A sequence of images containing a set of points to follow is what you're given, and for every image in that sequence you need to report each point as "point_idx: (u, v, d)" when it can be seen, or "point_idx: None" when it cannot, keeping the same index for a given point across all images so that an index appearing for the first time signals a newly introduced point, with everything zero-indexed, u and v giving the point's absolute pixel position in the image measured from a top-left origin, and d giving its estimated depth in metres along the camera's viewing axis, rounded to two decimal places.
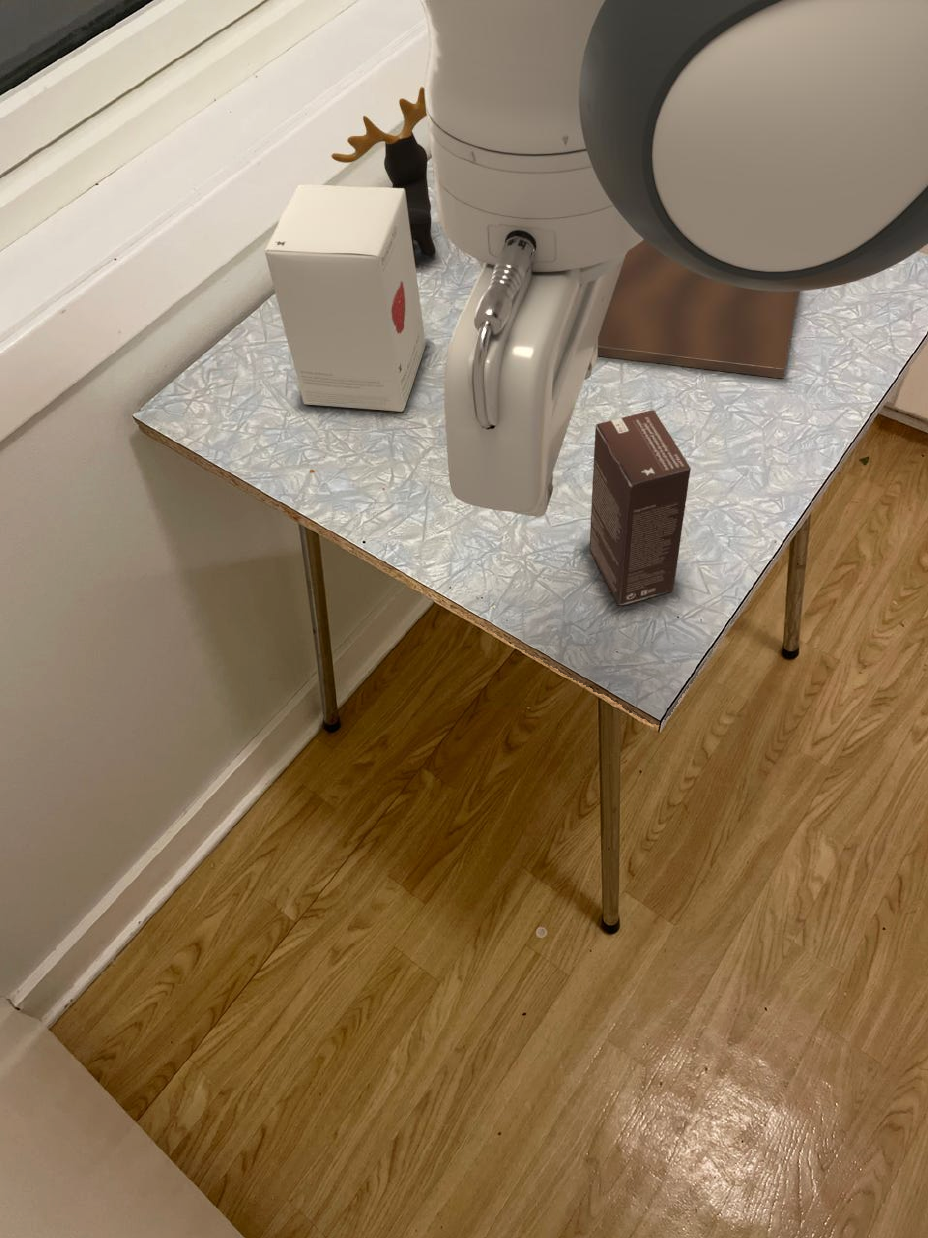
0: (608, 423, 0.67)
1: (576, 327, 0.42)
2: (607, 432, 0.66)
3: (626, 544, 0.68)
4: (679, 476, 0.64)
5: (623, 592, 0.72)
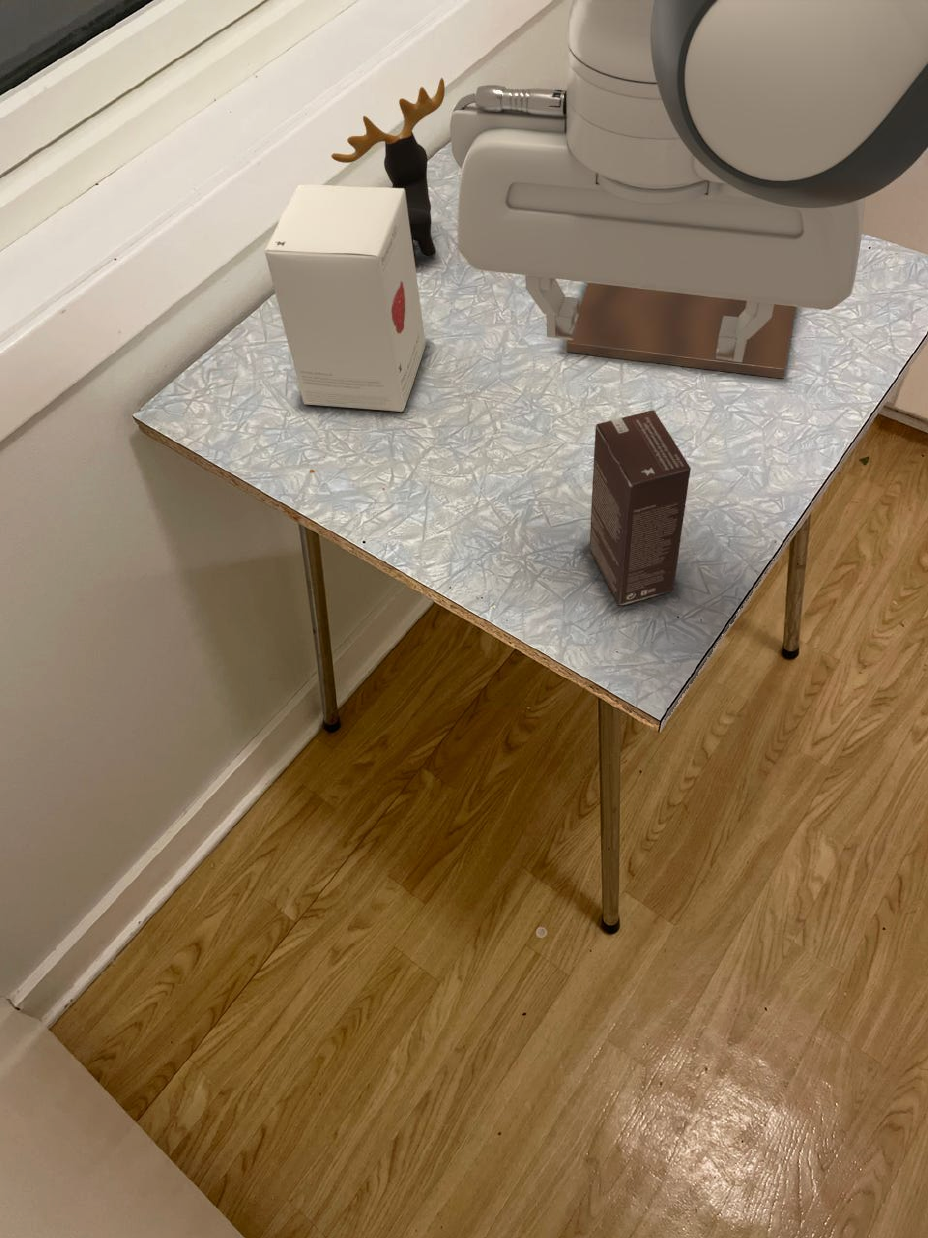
0: (608, 423, 0.67)
1: (594, 217, 0.52)
2: (607, 432, 0.66)
3: (626, 544, 0.68)
4: (679, 476, 0.64)
5: (623, 592, 0.72)
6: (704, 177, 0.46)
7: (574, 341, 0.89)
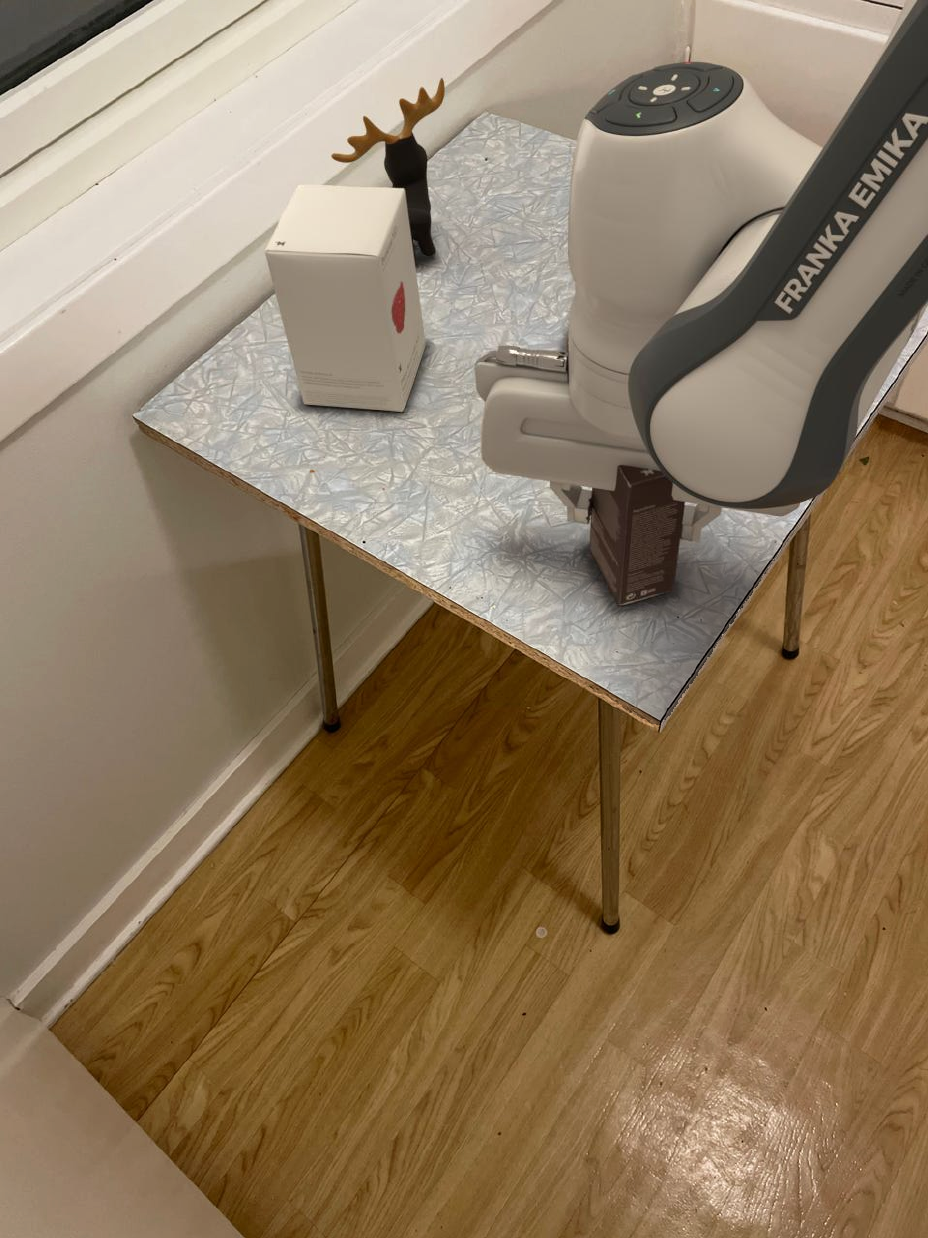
0: None
1: (592, 444, 0.64)
2: None
3: (625, 545, 0.68)
4: None
5: (623, 592, 0.72)
6: None
7: None
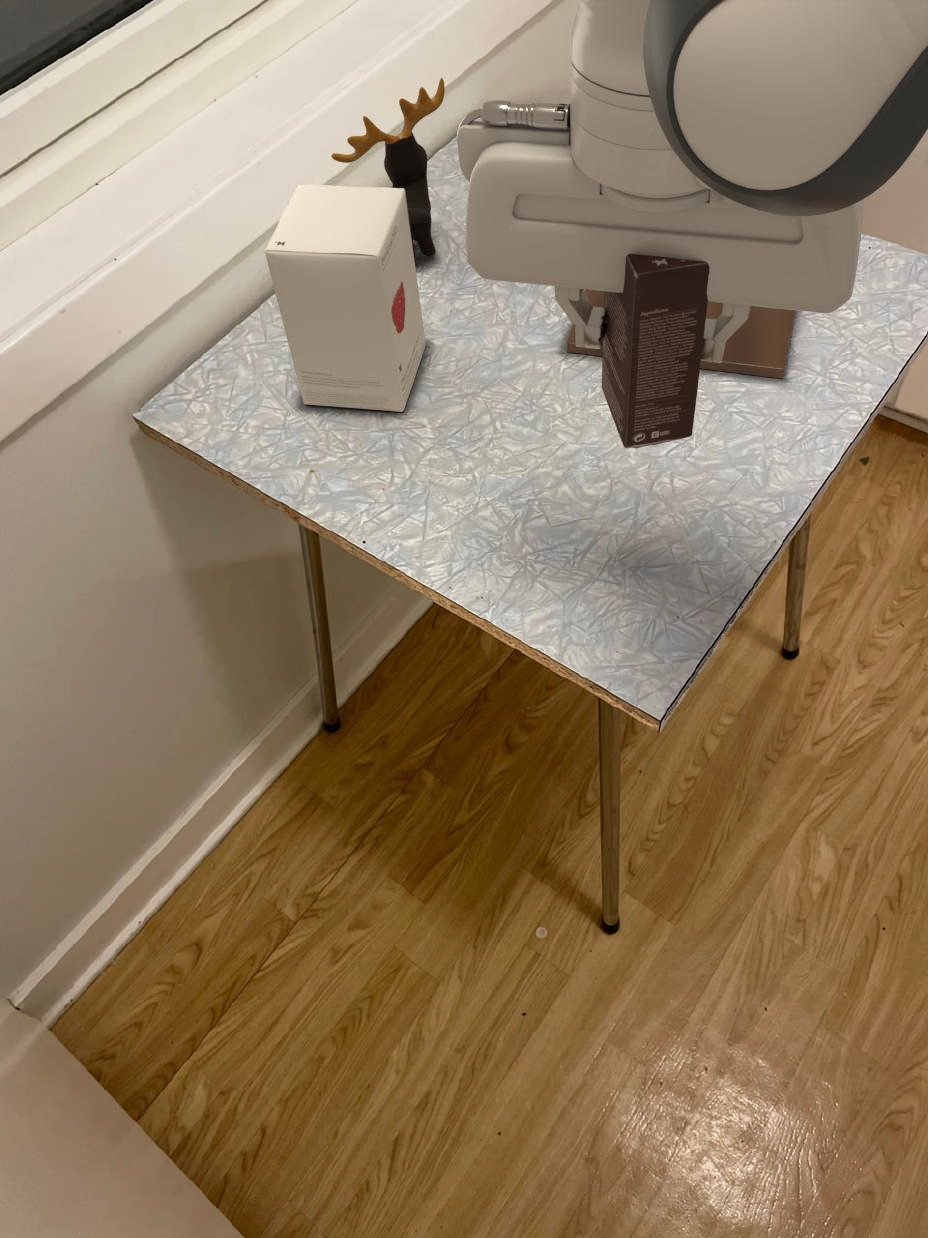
0: None
1: (599, 227, 0.53)
2: None
3: (631, 362, 0.57)
4: (698, 270, 0.53)
5: (629, 430, 0.61)
6: (705, 186, 0.47)
7: (574, 341, 0.89)
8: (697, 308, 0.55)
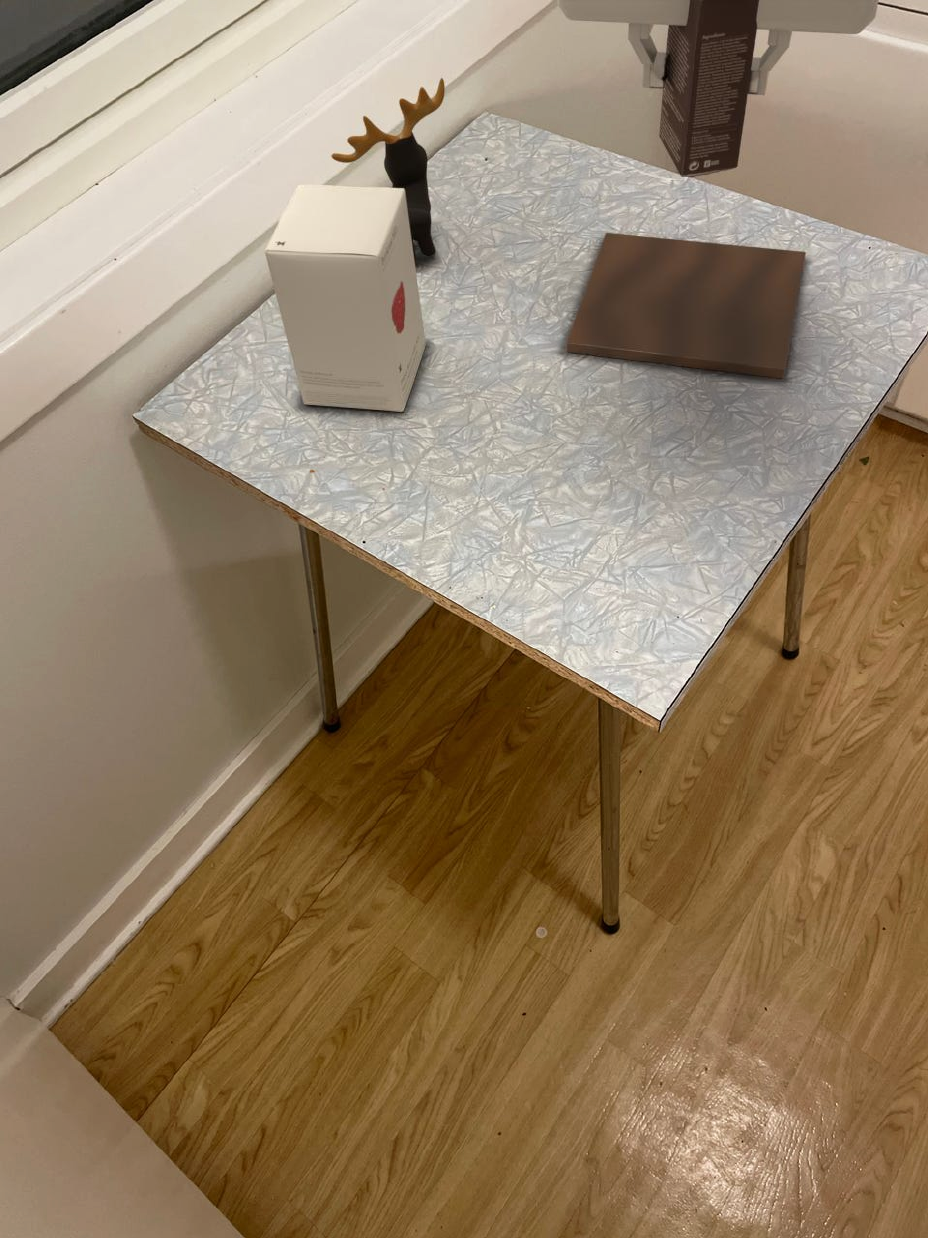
0: None
1: None
2: None
3: (692, 86, 0.69)
4: None
5: (686, 158, 0.73)
6: None
7: (574, 341, 0.89)
8: (748, 34, 0.67)
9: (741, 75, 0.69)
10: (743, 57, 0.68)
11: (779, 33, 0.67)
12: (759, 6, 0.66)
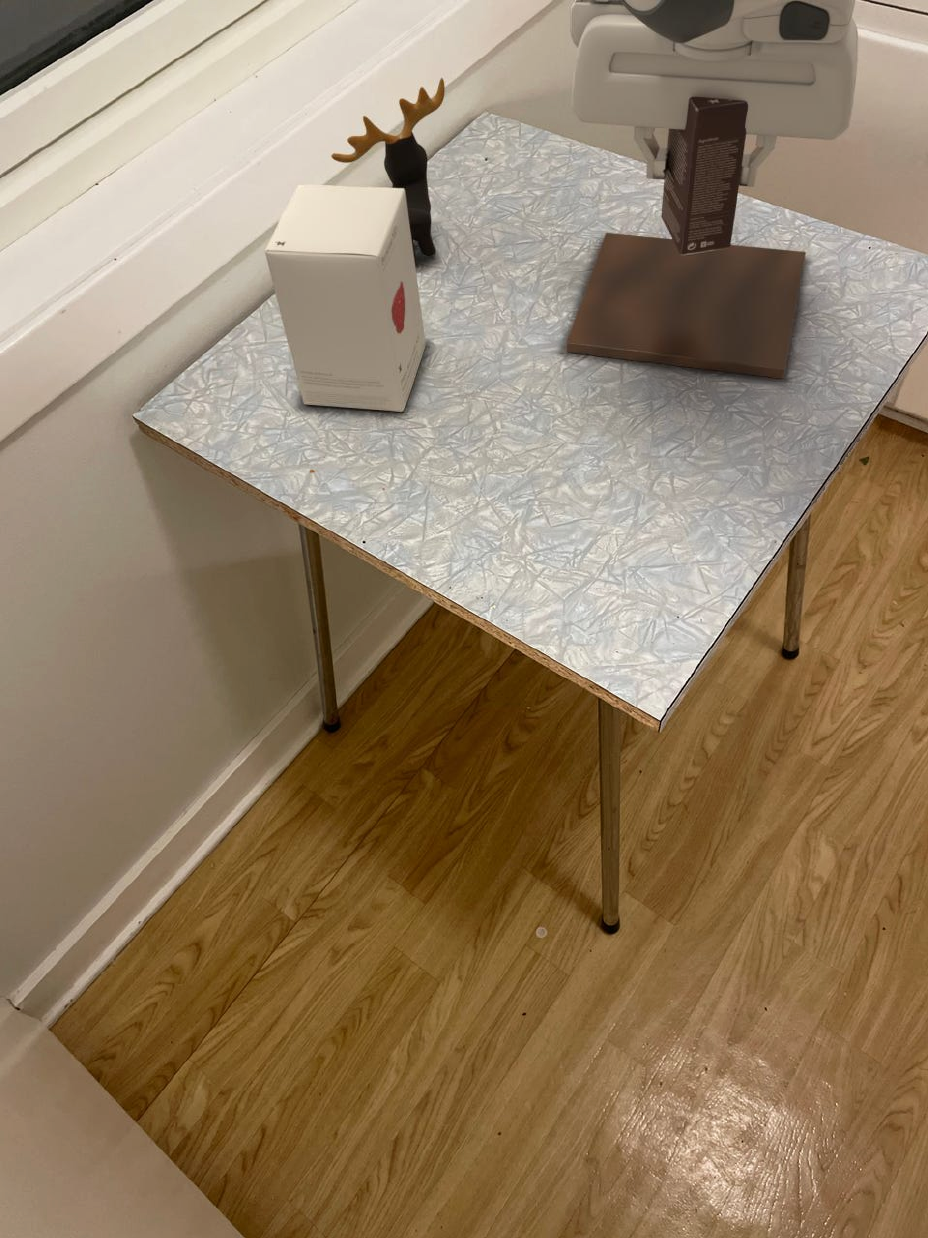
0: None
1: (670, 76, 0.75)
2: None
3: (690, 181, 0.79)
4: (740, 107, 0.75)
5: (685, 239, 0.83)
6: (749, 37, 0.69)
7: (574, 341, 0.89)
8: (738, 138, 0.77)
9: (733, 171, 0.79)
10: (734, 157, 0.78)
11: (766, 137, 0.77)
12: (748, 116, 0.75)
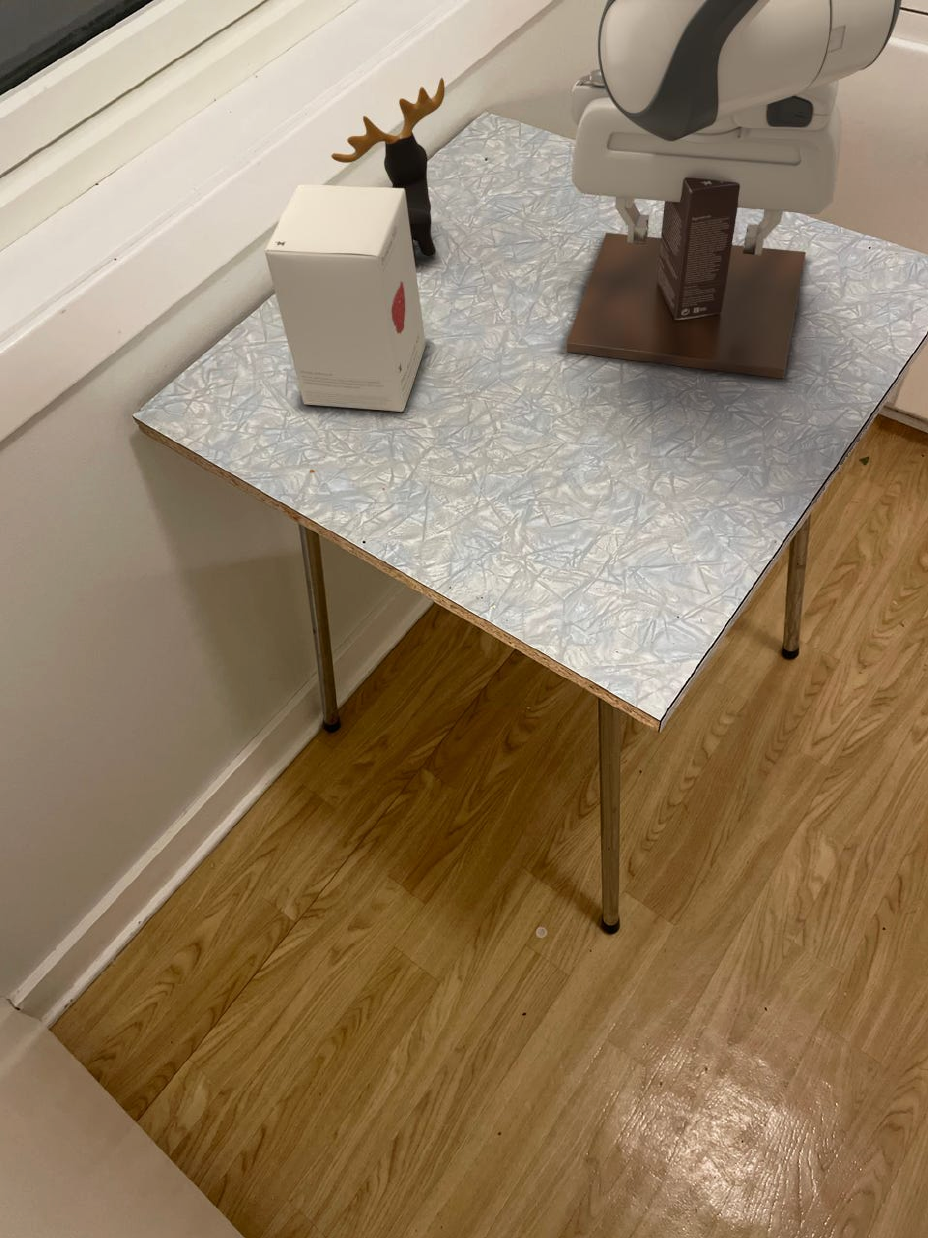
0: None
1: (665, 154, 0.80)
2: None
3: (683, 253, 0.84)
4: (731, 189, 0.80)
5: (679, 306, 0.88)
6: (738, 124, 0.74)
7: (574, 341, 0.89)
8: (730, 216, 0.82)
9: (724, 245, 0.84)
10: (726, 232, 0.83)
11: (772, 211, 0.82)
12: None
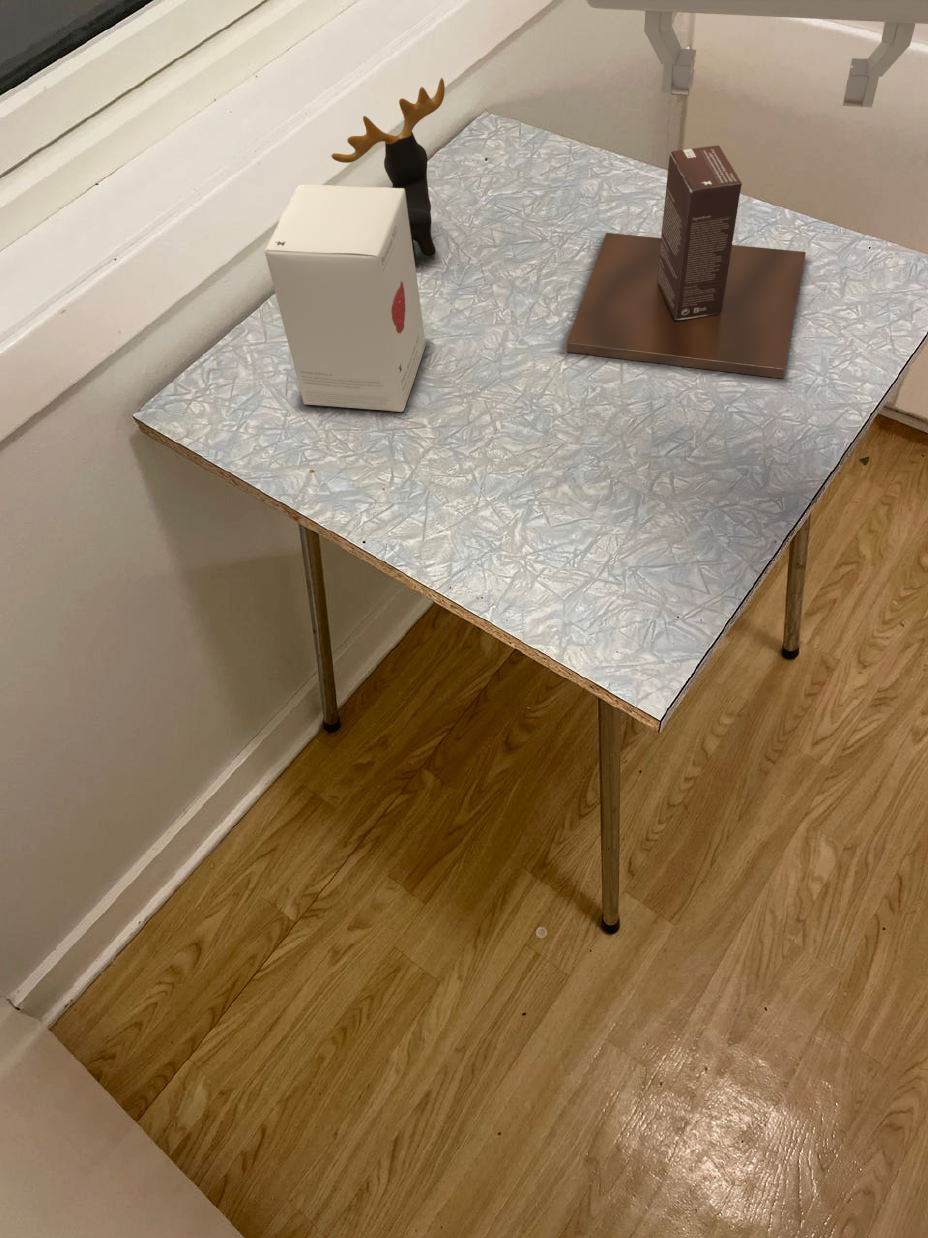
0: (680, 151, 0.83)
1: None
2: (678, 156, 0.82)
3: (684, 253, 0.84)
4: (731, 189, 0.80)
5: (679, 306, 0.88)
6: None
7: (574, 341, 0.89)
8: (730, 216, 0.82)
9: (724, 245, 0.84)
10: (726, 232, 0.83)
11: (898, 26, 0.51)
12: None
